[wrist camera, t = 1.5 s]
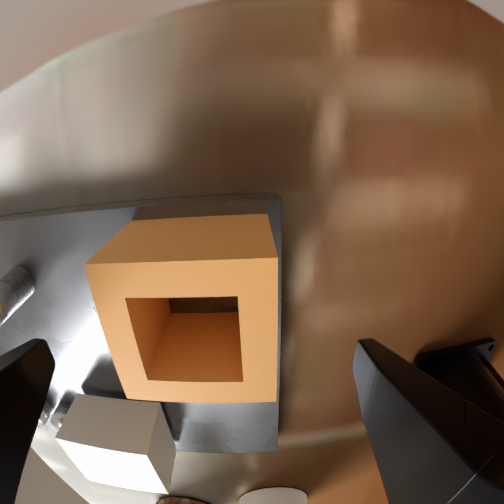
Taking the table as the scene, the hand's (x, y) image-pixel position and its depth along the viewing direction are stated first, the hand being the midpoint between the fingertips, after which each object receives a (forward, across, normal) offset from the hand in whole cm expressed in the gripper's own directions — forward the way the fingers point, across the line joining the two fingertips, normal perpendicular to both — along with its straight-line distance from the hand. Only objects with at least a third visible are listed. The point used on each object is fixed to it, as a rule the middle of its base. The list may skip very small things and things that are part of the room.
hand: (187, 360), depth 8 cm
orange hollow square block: (+5, 0, 0) cm, 5 cm away
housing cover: (+4, +6, +9) cm, 11 cm away
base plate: (+6, +6, +4) cm, 9 cm away
